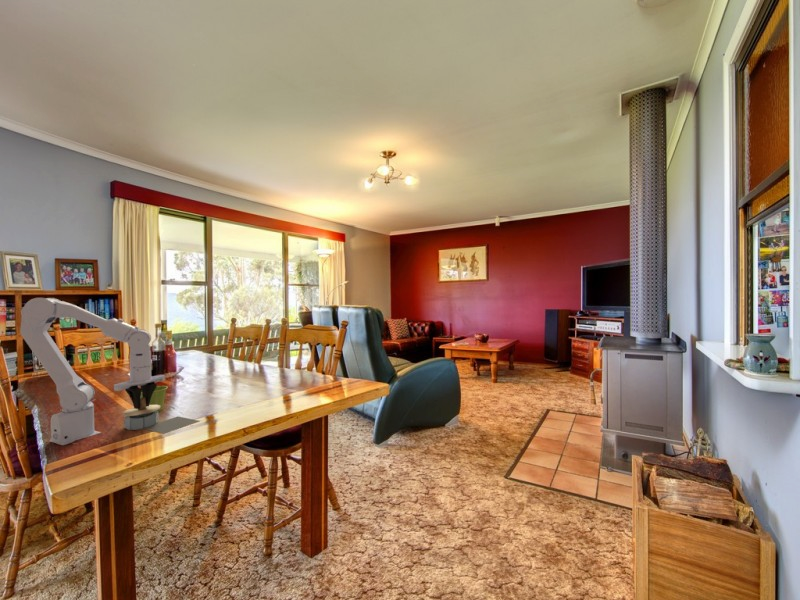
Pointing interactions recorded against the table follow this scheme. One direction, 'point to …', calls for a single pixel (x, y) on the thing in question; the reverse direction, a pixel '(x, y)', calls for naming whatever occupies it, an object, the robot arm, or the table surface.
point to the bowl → (141, 421)
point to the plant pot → (158, 396)
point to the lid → (141, 409)
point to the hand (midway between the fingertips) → (141, 407)
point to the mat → (171, 425)
